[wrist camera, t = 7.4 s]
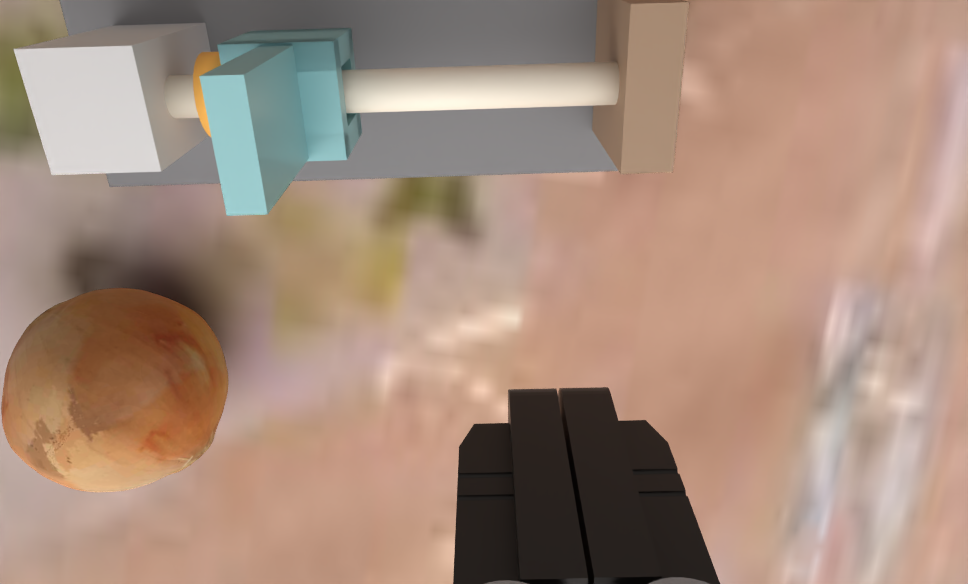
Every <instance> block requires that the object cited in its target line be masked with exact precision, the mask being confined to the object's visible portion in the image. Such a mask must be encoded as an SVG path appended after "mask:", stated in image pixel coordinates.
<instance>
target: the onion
mask: <svg viewBox="0 0 968 584" xmlns="http://www.w3.org/2000/svg"><path fill="white" fill-rule="evenodd" d="M227 392H228V372H227V367H226V362H225V358H224V355H223V352H222V349H221V346H220V344H219V341H218V340H217V338H216V336H215V334H214V332H213V331H212V329H211V328H210V327H209V325H208V324H207V323H206V322H205V320H204V319H203V318H202V317H201V316H200V315H199V314H197V313H196V312H194V311H193V310H191V309H190V308H188V307H186V306H184V305H182V304H180V303H178V302H176V301H173V300H171V299H169V298H166V297H163V296H161V295H158V294H154V293H151V292H148V291H144V290H139V289H131V288H109V289H100V290H95V291H91V292H88V293H84V294H82V295H79V296H77V297H74V298H72V299H70V300H68V301H65V302H62V303H59V304H57V305H55V306H53V307H52V308H50V309H48V310H47V311H45V312H44V313H42V314H41V315H40V316H39V317H37V318H36V319H35V320H34V321H33V322H32V323H31V324H30V325H29V326H28V327H27V329H26V330H25V331H24V333H23V335H22V336H21V338H20V339H19V341H18V343H17V344H16V346H15V348H14V350H13V352H12V355H11V357H10V359H9V362H8V365H7V369H6V373H5V380H4V388H3V396H2V407H1V411H2V423H3V428H4V432H5V435H6V437H7V440H8V443H9V444H10V446H11V448H12V449H13V451H14V452H15V453H16V454H17V455H18V456H19V457H20V458H21V459H22V460H23V461H24V462H25V463H26V464H27V465H29V466H30V467H31V468H33V469H34V470H35V471H37V472H38V473H39V474H41V475H42V476H44V477H46V478H48V479H50V480H52V481H54V482H56V483H58V484H61V485H63V486H66V487H69V488H72V489H76V490H81V491H89V492H115V491H124V490H130V489H134V488H138V487H141V486H144V485H148V484H150V483H152V482H155V481H157V480H159V479H161V478H163V477H165V476H167V475H170V474H173V473H176V472H179V471H181V470H183V469H184V468H186V467H188V466H189V465H191V464H192V463H193V462H194V461H196V460H197V459H198V458H200V457H201V456H202V455H203V454H204V452H205V451H206V450H207V449H208V448H209V447H210V445H211V444H212V442H213V439H214V435H215V432H216V429H217V425H218V423H219V420H220V418H221V416H222V412H223V409H224V405H225V401H226V397H227Z"/></svg>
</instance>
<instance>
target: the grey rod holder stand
mask: <svg viewBox="0 0 968 584" xmlns="http://www.w3.org/2000/svg"><path fill="white" fill-rule="evenodd" d="M59 1H60V4H61V8H62V12H63V16H64V19H65V23H66V27H67V30H68V34H69V36H67V37H63V38H59V39H54V40H50V41H46V42H42V43H38V44H33V45H29V46H25V47H21V48H17V49H14V52H15V55H16V59H17V62H18V65H19V69H20V72H21V75H22V78H23V82H24V85H25V88H26V92H27V95H28V98H29V101H30V105H31V108H32V111H33V115H34V118H35V121H36V125H37V128H38V131H39V134H40V138H41V141H42V144H43V148H44V151H45V154H46V157H47V161H48V164H49V167H50V171H51V174H52V175H68V174H100V173H106V175H107V179H108V183H109V187H120V186H152V185H184V184H216V183H220V178H219V173H218V168H217V163H216V158H215V153H214V148H213V143H212V138H211V133H210V128H209V122H208V117H207V112H206V107H205V102H204V97H203V92H202V87H201V82H200V77H199V76H201V75H203V74H205V73H207V72H208V71H210V70H212V69H214V68H216V67H218V66H220V65H221V63H220V57H219V52H218V46H217V45H218V44H220V43H223V42H225V41H227V40H230V39H232V38H235V37H237V36H239V35H242V34H244V33H247V32H249V31H262V30H295V29H328V28H351V30H352V40H353V49H354V59H355V69H356V70H342V78H343V87H344V96H345V105H346V113H360V117H361V127H362V134H361V136H360V137H359V139H358V141H357V143H356V145H355V146H354V148H353V150H352V152H351V154H350V155H349V157H348V159H347V160H336V161H307V162H306V163H305V164H304V166H303V167H302V168H301V170H300V171H299V173H298V174H297V175H296V177H295V178H294V179H293V181H312V180H343V179H375V178H407V177H439V176H471V175H503V174H535V173H567V172H599V171H619V172H620V174H643V173H673V171H674V160H675V150H676V139H677V128H678V118H679V107H680V96H681V85H682V75H683V64H684V53H685V42H686V32H687V21H688V10H689V2H687V1H683V0H59Z"/></svg>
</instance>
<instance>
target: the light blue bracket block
mask: <svg viewBox="0 0 968 584" xmlns="http://www.w3.org/2000/svg"><path fill="white" fill-rule="evenodd" d="M217 46H218V52H219V57H220V63H221V65H220V66H218V67H216V68H214V69H212V70H210V71H208V72H207V73H205V74H203V75H201V76H199V77H200V82H201V87H202V92H203V97H204V102H205V107H206V112H207V117H208V122H209V128H210V133H211V138H212V143H213V148H214V153H215V158H216V163H217V168H218V173H219V178H220V183H221V188H222V193H223V199H224V204H225V209H226V214H227V216H234V215H266V214H268V213H269V212H270V210H271V209H272V208H273V206H274V205H275V204H276V202H277V201H278V200H279V198H280V197H281V196H282V194H283V193H284V191H285V190H286V189H287V187H288V186H289V185H290V183H291V182H292V181H293V179H294V178H295V177H296V175H297V174H298V173H299V171H300V170H301V168H302V167H303V166H304V164H305V163H306V162H307V161H336V160H347V159H348V157H349V155H350V154H351V152H352V150H353V148H354V146H355V145H356V143H357V141H358V139H359V137H360V136H361V134H362V127H361V117H360V113H346V105H345V96H344V87H343V78H342V70H356V69H355V59H354V49H353V40H352V30H351V28H328V29H295V30H262V31H249V32H247V33H244V34H242V35H239V36H237V37H235V38H232V39H230V40H227V41H225V42H223V43H220V44H218V45H217Z"/></svg>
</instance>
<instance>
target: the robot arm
mask: <svg viewBox="0 0 968 584" xmlns="http://www.w3.org/2000/svg"><path fill="white" fill-rule="evenodd" d="M685 491H686V490H685V488H684V485H683V482H682V480H681V477H680V474H678V472H677V466H676V463H675V461H674V458H673V455H672V453H671V450H670V447H669V444H668V442H667V441H666V440H665V439H664V438H663V437H662V436H661V435H660V434H659V433H658V432H657V431H656V430H655V429H654V428H653V427H652V426H651V425H650V424H649V423H648V422H647V421H646V420H636V421H618V418H617V415H616V411H615V408H614V404H613V400H612V397H611V393H610V390H609V388H608V387H603V388H560V389H559V393H558V394H557V390H556V389H513V390H508V423H495V424H474V425H473V427H472V428H471V430H470V431H469V433H468V434H467V436H466V437H465V439H464V440H463V442H462V443H461V445H460V446H459V465H458V488H457V512H456V535H455V558H454V582H453V584H720V582H719V580H718V577H717V575H716V572H715V569H714V566H713V564H712V561H711V558H710V556H709V553H708V550H707V547H706V545H705V542H704V539H703V537H702V534H701V531H700V528H699V526H698V523H697V520H696V518H695V515H694V512H693V509H692V507H691V504H690V501H689V499H688V496H686V493H685Z"/></svg>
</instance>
